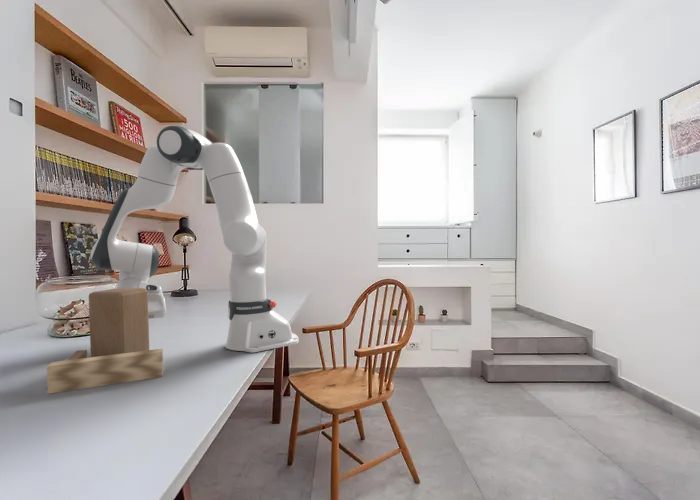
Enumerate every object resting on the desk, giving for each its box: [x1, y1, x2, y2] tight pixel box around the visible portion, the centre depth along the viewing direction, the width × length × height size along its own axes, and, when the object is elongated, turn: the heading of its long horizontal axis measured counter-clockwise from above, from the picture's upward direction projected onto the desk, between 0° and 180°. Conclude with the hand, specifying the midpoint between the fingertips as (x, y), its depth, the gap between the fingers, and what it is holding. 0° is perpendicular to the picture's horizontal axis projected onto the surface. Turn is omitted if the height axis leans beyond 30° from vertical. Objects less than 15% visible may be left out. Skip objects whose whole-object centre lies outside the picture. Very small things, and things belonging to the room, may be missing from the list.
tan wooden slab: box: [46, 348, 164, 395], centre depth 86 cm, size 22×11×6 cm, turn 114°
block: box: [88, 287, 150, 357], centre depth 96 cm, size 10×10×20 cm
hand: (127, 330), depth 106 cm, fingers closed
